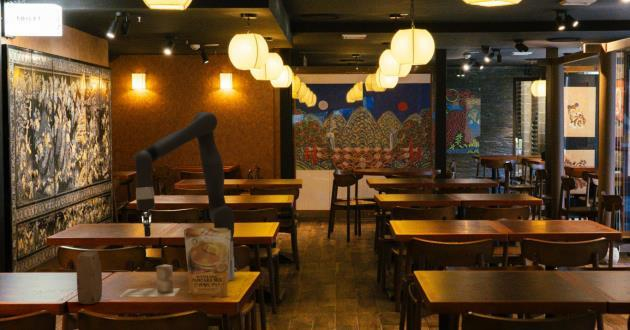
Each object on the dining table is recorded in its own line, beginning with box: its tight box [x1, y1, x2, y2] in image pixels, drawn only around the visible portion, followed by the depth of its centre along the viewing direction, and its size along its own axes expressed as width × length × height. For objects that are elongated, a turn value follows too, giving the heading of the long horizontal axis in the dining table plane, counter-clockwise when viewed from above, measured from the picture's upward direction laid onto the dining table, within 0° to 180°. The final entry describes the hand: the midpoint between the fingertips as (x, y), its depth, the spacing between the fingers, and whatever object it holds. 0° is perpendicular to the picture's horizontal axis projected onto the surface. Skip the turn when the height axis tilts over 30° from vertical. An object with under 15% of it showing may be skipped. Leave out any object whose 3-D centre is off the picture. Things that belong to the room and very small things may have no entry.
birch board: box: [119, 287, 181, 298], centre depth 311 cm, size 22×14×2 cm, turn 89°
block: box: [76, 250, 103, 305], centre depth 302 cm, size 11×8×20 cm
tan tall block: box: [156, 264, 174, 294], centre depth 310 cm, size 5×5×11 cm
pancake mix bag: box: [183, 227, 231, 298], centre depth 308 cm, size 7×19×28 cm, turn 86°
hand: (147, 236), depth 323 cm, fingers open, 8 cm apart
